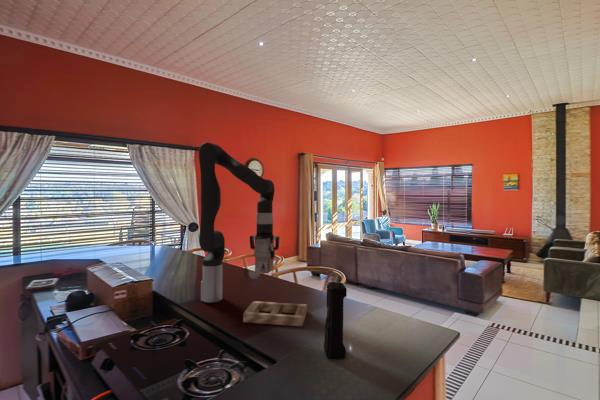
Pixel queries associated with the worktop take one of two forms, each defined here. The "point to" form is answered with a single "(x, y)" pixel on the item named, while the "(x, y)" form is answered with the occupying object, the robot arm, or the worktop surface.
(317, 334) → the worktop surface
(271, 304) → the wooden divided tray
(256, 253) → the coffee box
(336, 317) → the portable radio
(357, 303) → the worktop surface
